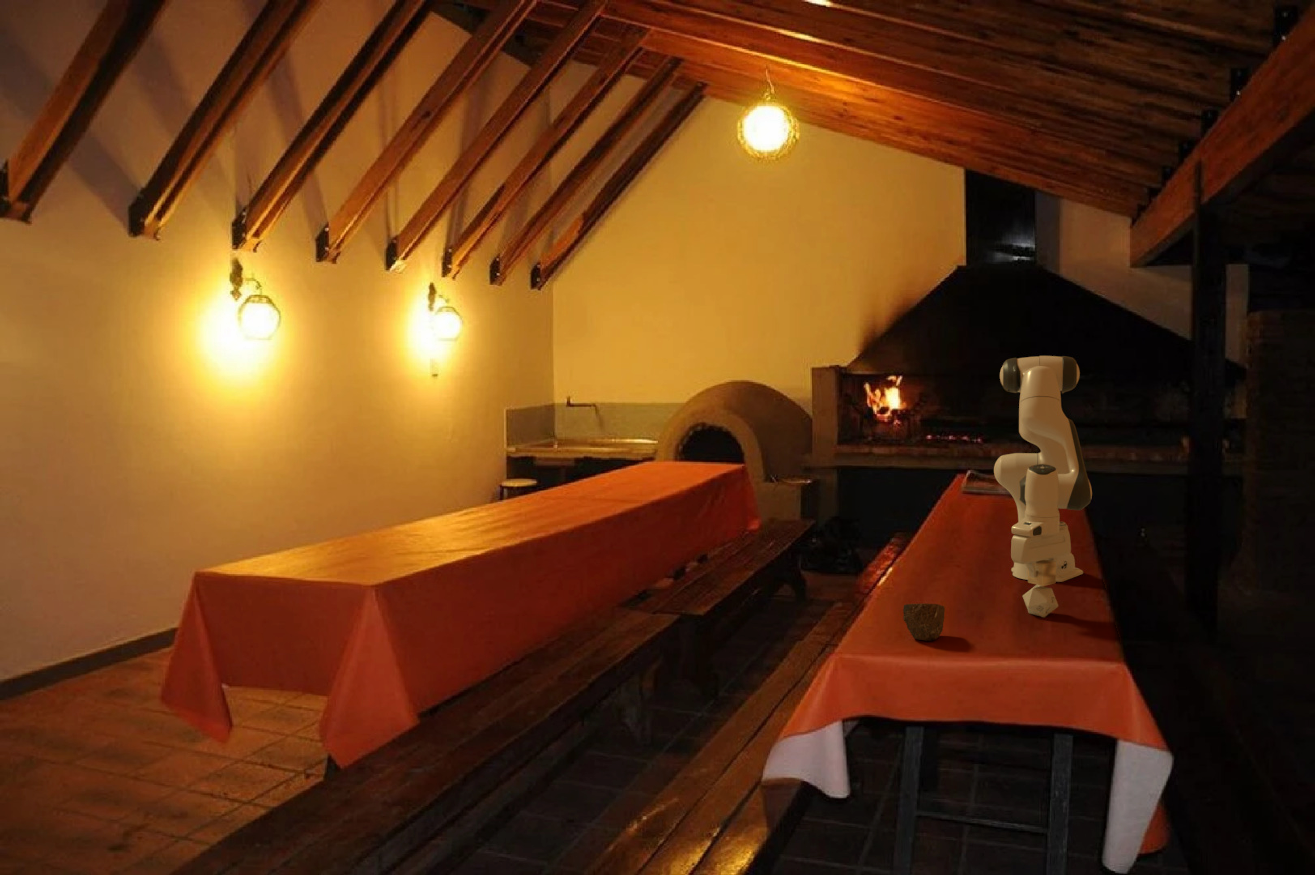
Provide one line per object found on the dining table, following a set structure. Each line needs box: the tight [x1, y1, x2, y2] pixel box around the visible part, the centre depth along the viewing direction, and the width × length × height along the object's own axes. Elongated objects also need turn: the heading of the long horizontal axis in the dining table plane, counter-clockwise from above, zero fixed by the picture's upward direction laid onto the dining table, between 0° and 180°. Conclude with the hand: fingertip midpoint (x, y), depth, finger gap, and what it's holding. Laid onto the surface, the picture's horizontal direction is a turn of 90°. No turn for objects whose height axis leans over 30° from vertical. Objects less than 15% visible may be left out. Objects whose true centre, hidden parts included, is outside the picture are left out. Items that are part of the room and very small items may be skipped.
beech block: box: [1027, 560, 1056, 587], centre depth 272 cm, size 5×5×6 cm
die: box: [1022, 584, 1059, 618], centre depth 273 cm, size 8×9×10 cm
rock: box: [902, 603, 946, 642], centre depth 255 cm, size 12×10×10 cm
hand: (1041, 575), depth 272 cm, fingers closed on beech block, 5 cm apart
